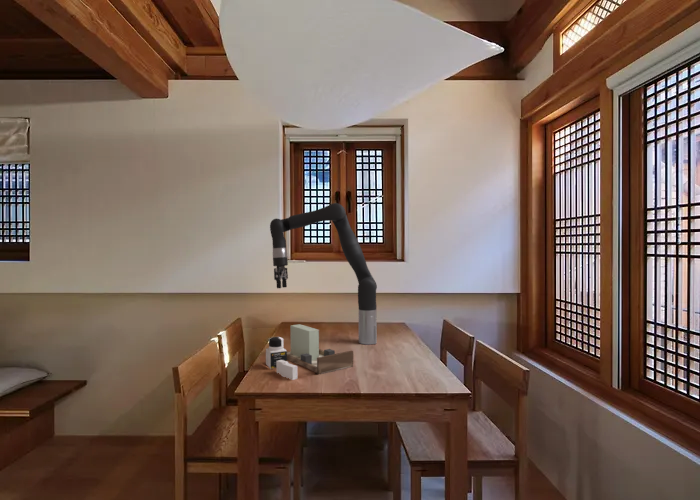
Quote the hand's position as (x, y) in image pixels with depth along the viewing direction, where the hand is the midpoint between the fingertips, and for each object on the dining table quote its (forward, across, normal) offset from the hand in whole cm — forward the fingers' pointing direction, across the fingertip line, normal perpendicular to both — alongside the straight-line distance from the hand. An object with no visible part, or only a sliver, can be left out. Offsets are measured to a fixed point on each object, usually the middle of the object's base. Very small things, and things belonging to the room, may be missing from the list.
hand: (281, 287), depth 221 cm
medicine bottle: (+31, -40, -10) cm, 52 cm away
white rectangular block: (+33, -51, -18) cm, 64 cm away
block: (+30, -26, -18) cm, 44 cm away
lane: (+32, -30, -23) cm, 49 cm away
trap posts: (+32, -33, -26) cm, 53 cm away
